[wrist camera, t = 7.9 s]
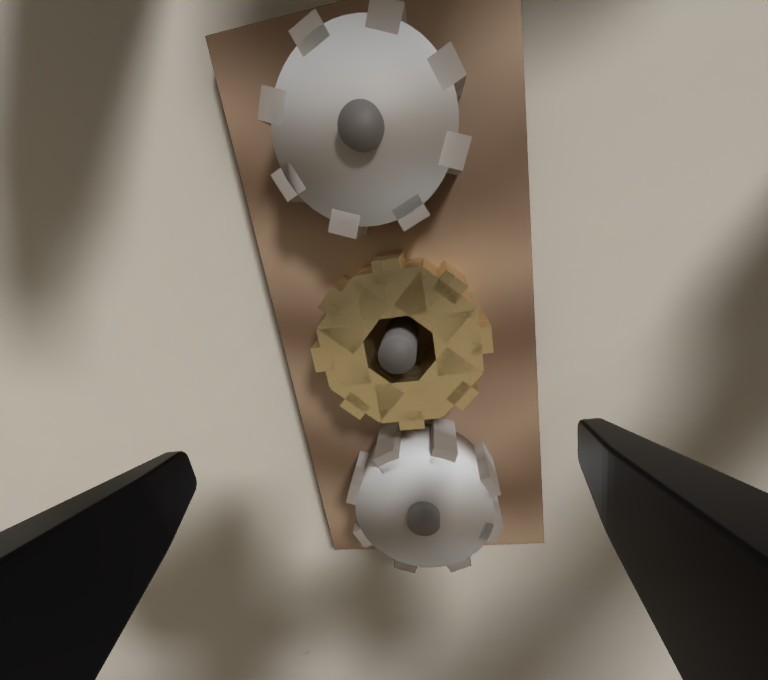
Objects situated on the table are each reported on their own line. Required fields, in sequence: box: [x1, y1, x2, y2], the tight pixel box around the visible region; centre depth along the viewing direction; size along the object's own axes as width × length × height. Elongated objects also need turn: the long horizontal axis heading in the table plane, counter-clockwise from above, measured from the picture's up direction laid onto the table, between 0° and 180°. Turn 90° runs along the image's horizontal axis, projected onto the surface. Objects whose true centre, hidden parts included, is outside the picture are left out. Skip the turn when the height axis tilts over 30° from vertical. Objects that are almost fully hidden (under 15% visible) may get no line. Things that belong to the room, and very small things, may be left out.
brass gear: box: [310, 249, 494, 431], centre depth 16 cm, size 7×7×2 cm
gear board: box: [205, 0, 544, 573], centre depth 16 cm, size 24×11×4 cm, turn 9°
